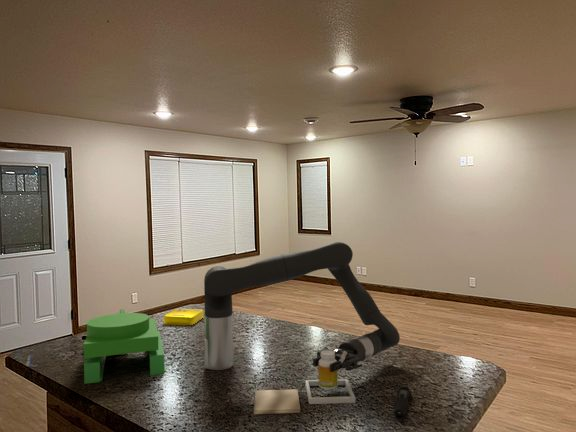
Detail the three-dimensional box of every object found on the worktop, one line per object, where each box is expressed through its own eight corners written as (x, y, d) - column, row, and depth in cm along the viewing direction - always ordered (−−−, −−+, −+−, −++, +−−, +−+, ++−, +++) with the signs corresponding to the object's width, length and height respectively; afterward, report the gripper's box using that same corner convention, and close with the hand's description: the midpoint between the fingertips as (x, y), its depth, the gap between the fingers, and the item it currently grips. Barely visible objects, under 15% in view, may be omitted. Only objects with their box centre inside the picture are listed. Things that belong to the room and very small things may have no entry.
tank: (160, 343, 174) (159, 303, 174) (166, 374, 141) (165, 323, 141) (94, 351, 166) (93, 308, 166) (83, 385, 133) (82, 331, 133)
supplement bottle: (336, 390, 121) (336, 356, 121) (317, 389, 122) (317, 354, 122) (338, 382, 126) (338, 349, 126) (319, 381, 127) (319, 348, 127)
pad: (253, 413, 112) (253, 410, 112) (255, 393, 124) (255, 390, 124) (300, 412, 113) (300, 408, 113) (297, 392, 125) (297, 389, 125)
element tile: (162, 325, 199) (161, 315, 199) (176, 317, 214) (176, 307, 214) (193, 326, 197) (192, 316, 196) (205, 318, 211) (204, 308, 211)
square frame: (309, 404, 118) (309, 398, 117) (305, 384, 130) (305, 380, 130) (355, 402, 118) (355, 397, 118) (347, 383, 131) (347, 379, 131)
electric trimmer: (390, 419, 109) (390, 407, 109) (398, 393, 124) (398, 382, 124) (406, 422, 108) (406, 409, 108) (411, 395, 123) (411, 384, 122)
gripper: (337, 333, 139) (302, 346, 127) (376, 343, 129) (343, 358, 117) (337, 357, 139) (302, 372, 127) (376, 368, 130) (343, 386, 117)
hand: (322, 365), depth 122 cm, fingers closed on supplement bottle, 5 cm apart
